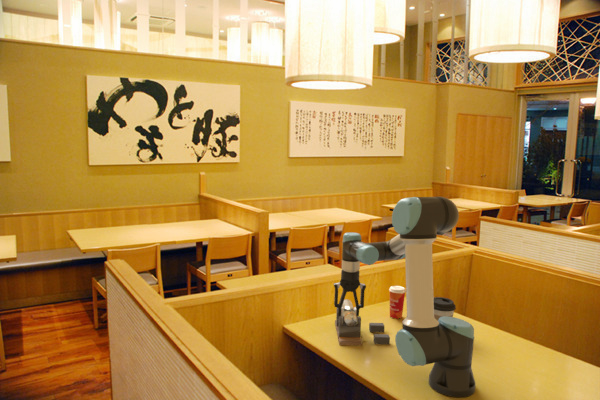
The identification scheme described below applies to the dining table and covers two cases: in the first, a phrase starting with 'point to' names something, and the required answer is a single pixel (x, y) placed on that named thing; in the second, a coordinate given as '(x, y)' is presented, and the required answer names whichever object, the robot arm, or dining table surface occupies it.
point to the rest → (379, 337)
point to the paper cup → (396, 301)
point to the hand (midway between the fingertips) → (348, 322)
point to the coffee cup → (443, 307)
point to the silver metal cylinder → (349, 313)
